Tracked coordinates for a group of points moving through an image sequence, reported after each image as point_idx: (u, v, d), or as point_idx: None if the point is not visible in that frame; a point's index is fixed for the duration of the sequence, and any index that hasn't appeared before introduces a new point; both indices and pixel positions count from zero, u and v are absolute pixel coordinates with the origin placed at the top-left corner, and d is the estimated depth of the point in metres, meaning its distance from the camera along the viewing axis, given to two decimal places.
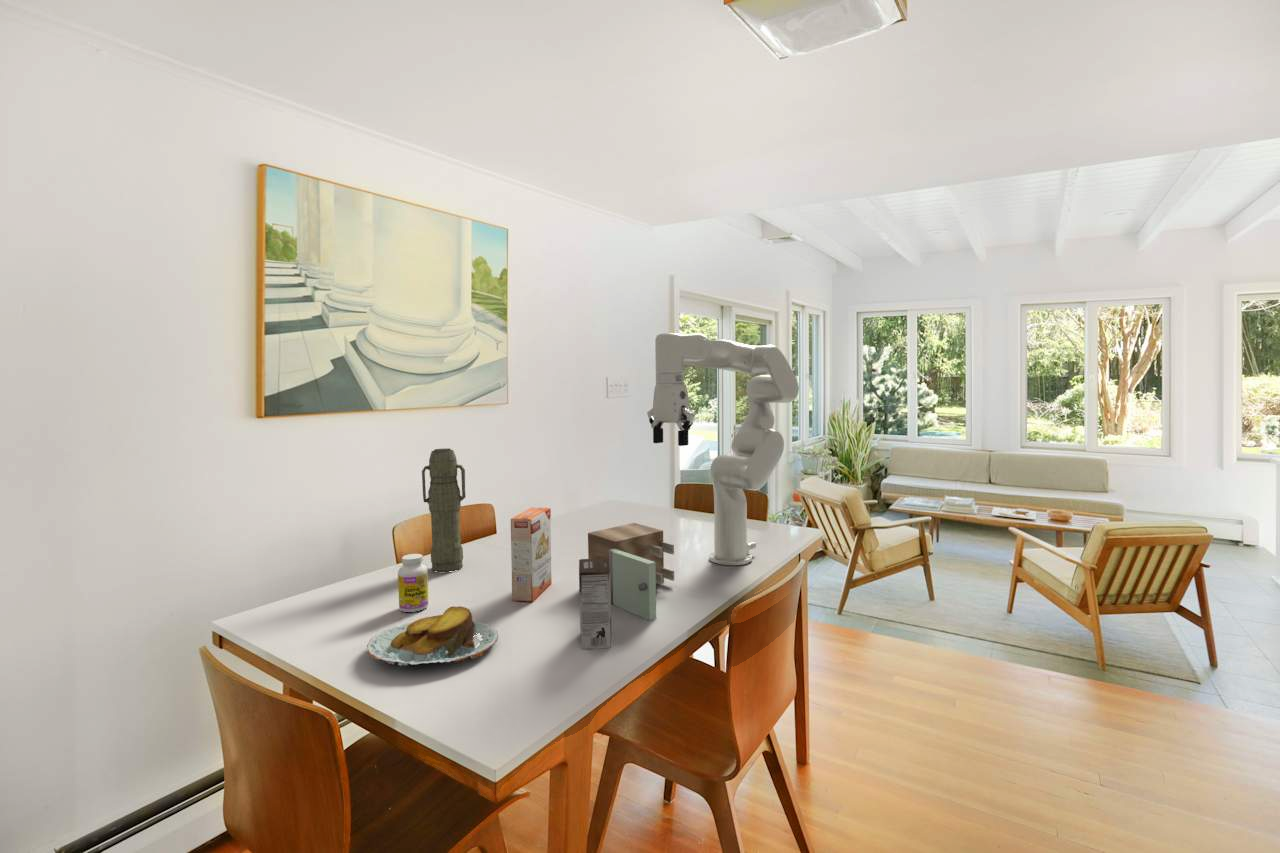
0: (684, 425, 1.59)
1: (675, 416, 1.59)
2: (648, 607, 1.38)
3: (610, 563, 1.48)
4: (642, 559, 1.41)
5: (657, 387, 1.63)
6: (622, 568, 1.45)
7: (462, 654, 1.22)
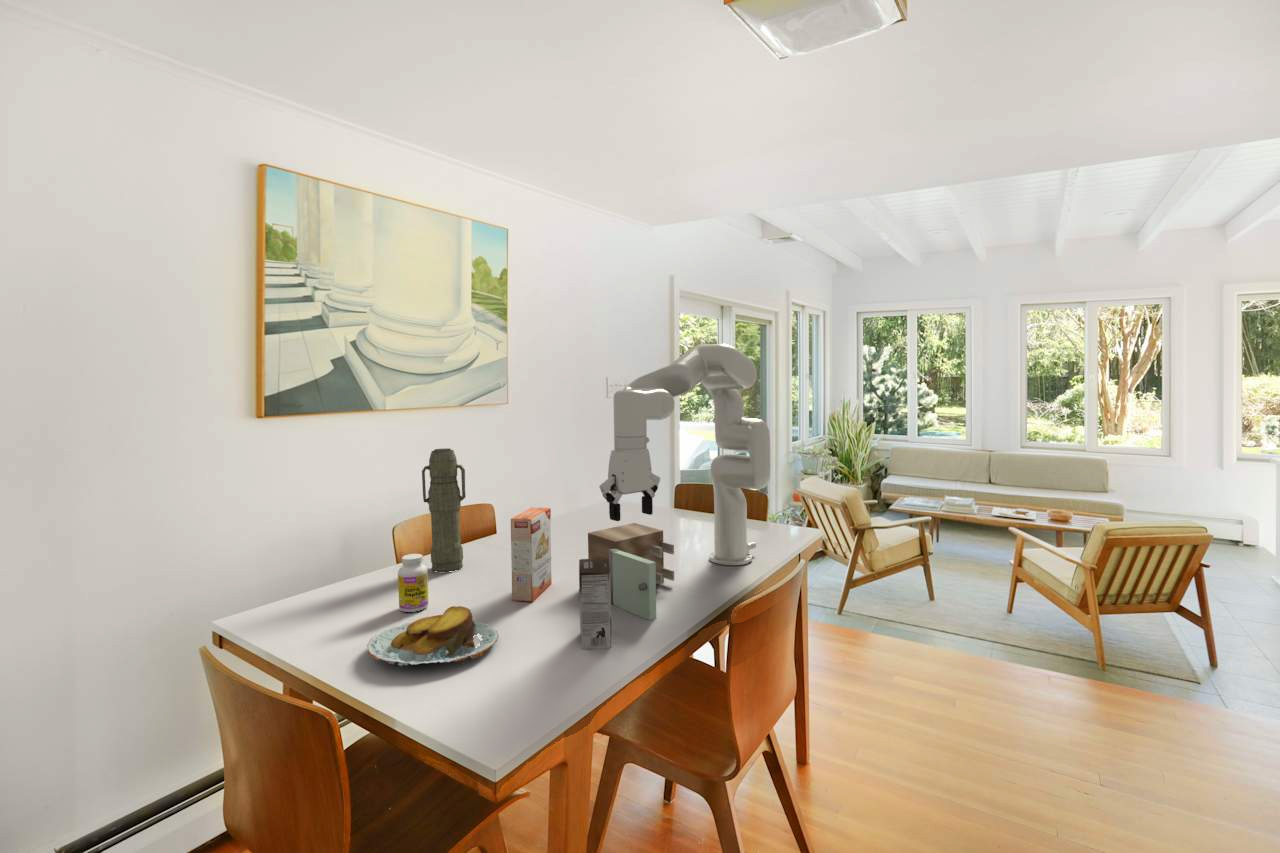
0: (653, 491, 1.45)
1: (650, 483, 1.43)
2: (648, 607, 1.38)
3: (610, 563, 1.48)
4: (642, 559, 1.41)
5: (629, 453, 1.38)
6: (622, 568, 1.45)
7: (462, 654, 1.22)
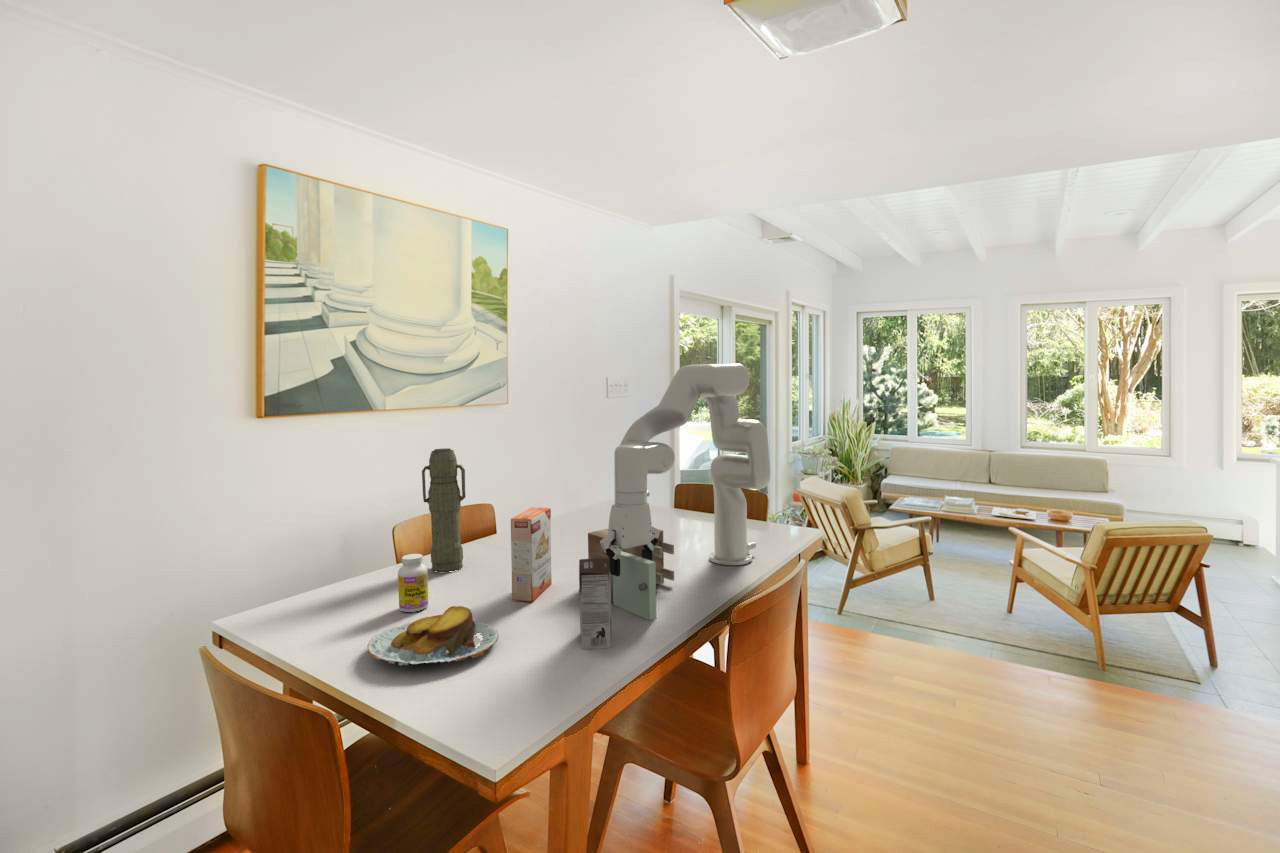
0: (653, 544, 1.46)
1: (650, 537, 1.44)
2: (648, 607, 1.38)
3: None
4: (642, 559, 1.41)
5: (629, 509, 1.39)
6: (622, 568, 1.45)
7: (462, 654, 1.22)
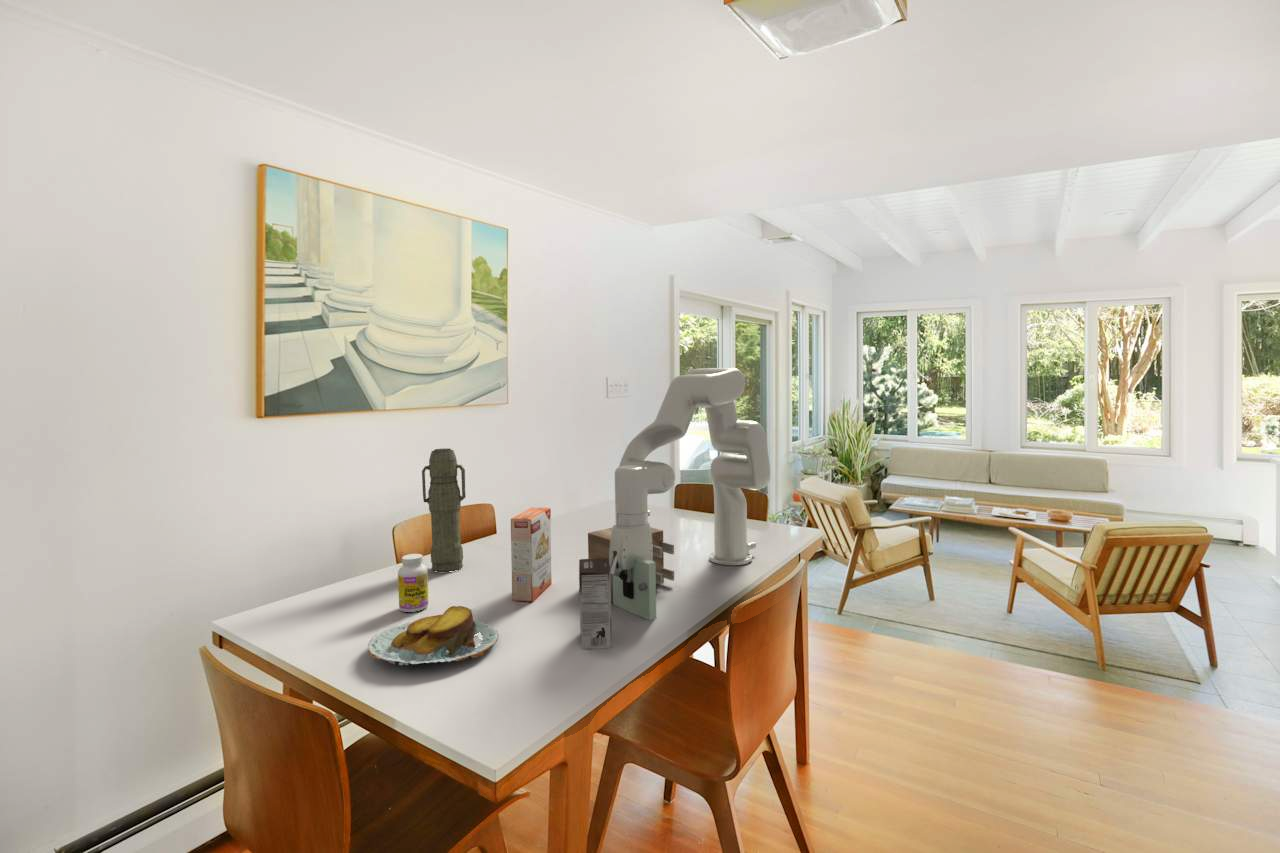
0: None
1: (651, 556, 1.44)
2: (648, 607, 1.38)
3: None
4: (642, 559, 1.41)
5: (630, 530, 1.39)
6: None
7: (463, 654, 1.22)
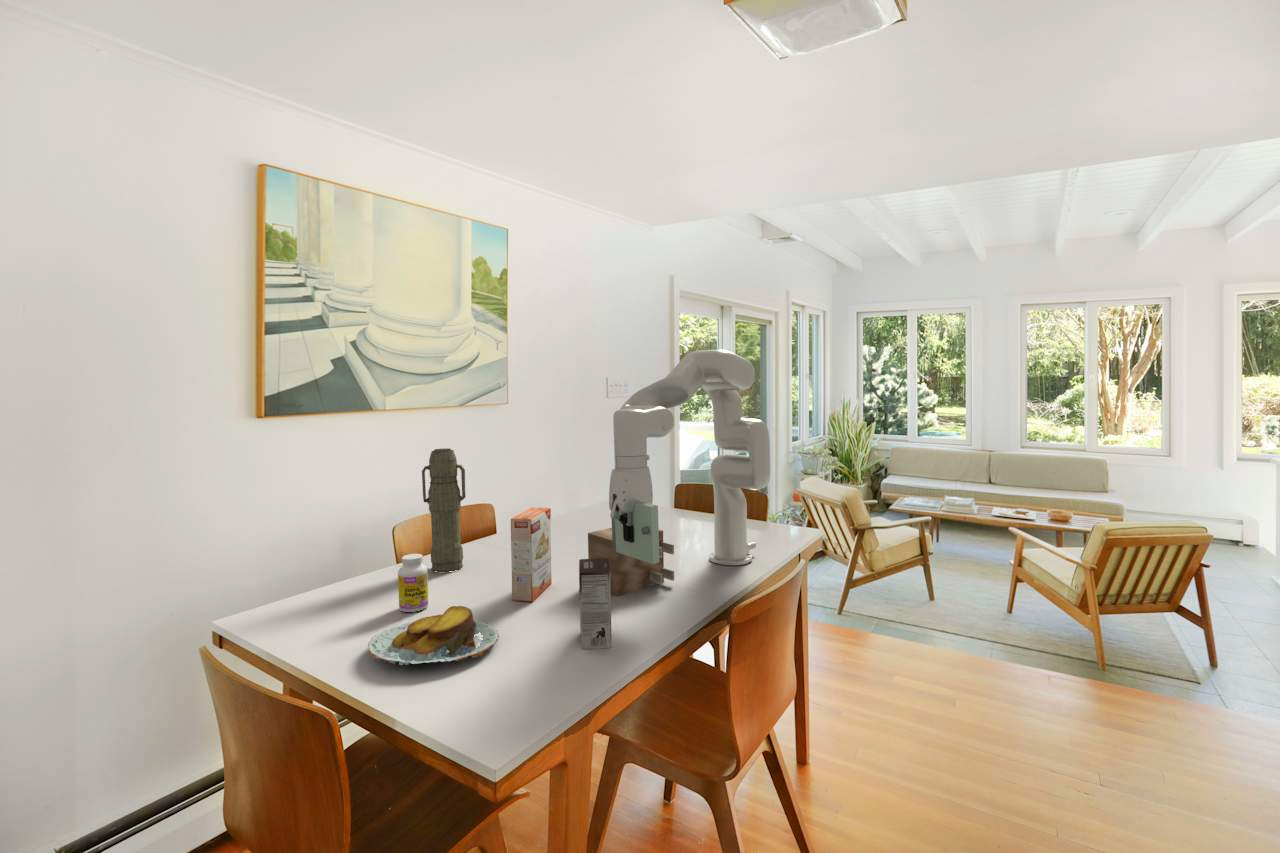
0: None
1: (651, 500, 1.43)
2: (651, 551, 1.37)
3: None
4: (644, 503, 1.39)
5: (629, 472, 1.38)
6: None
7: (463, 653, 1.22)
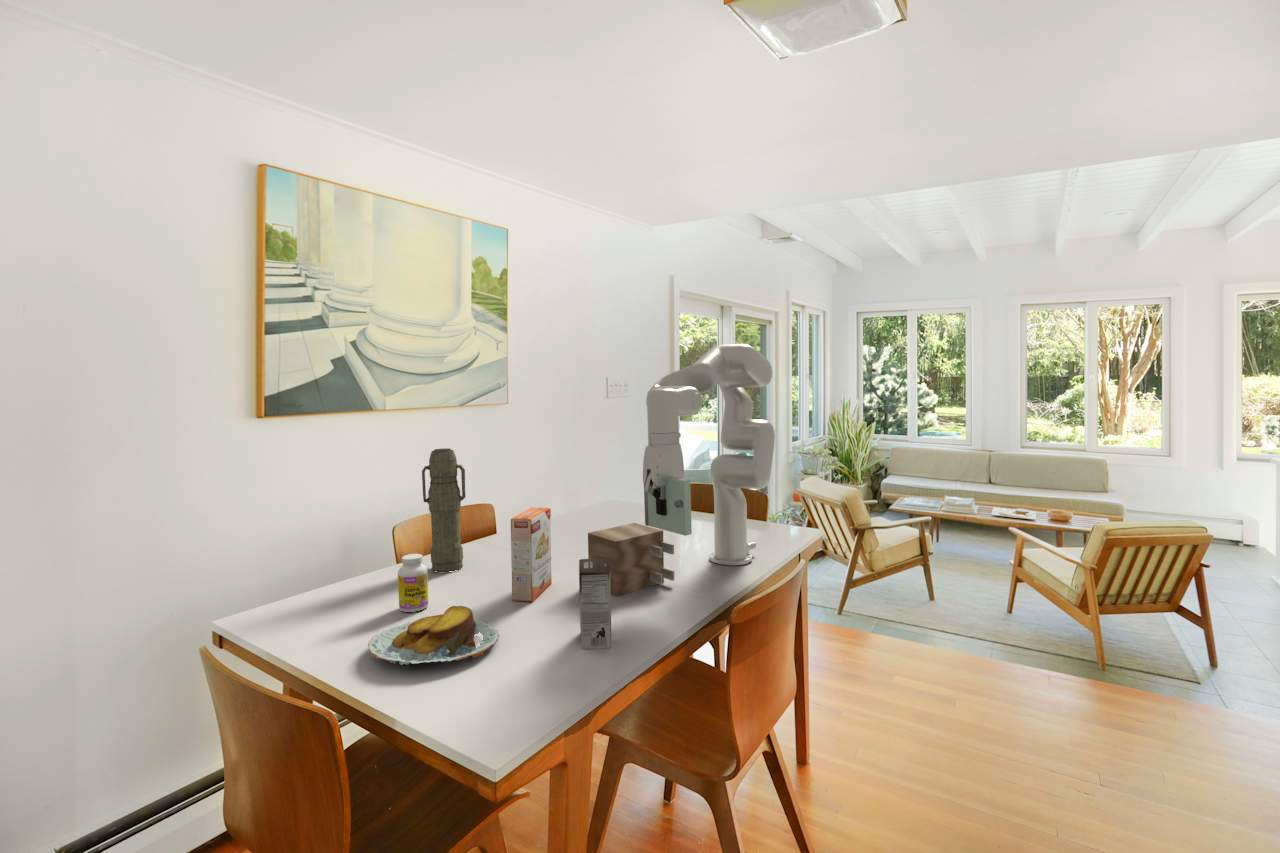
0: None
1: (682, 476, 1.51)
2: (684, 523, 1.44)
3: None
4: (677, 478, 1.46)
5: (663, 448, 1.45)
6: None
7: (463, 653, 1.22)
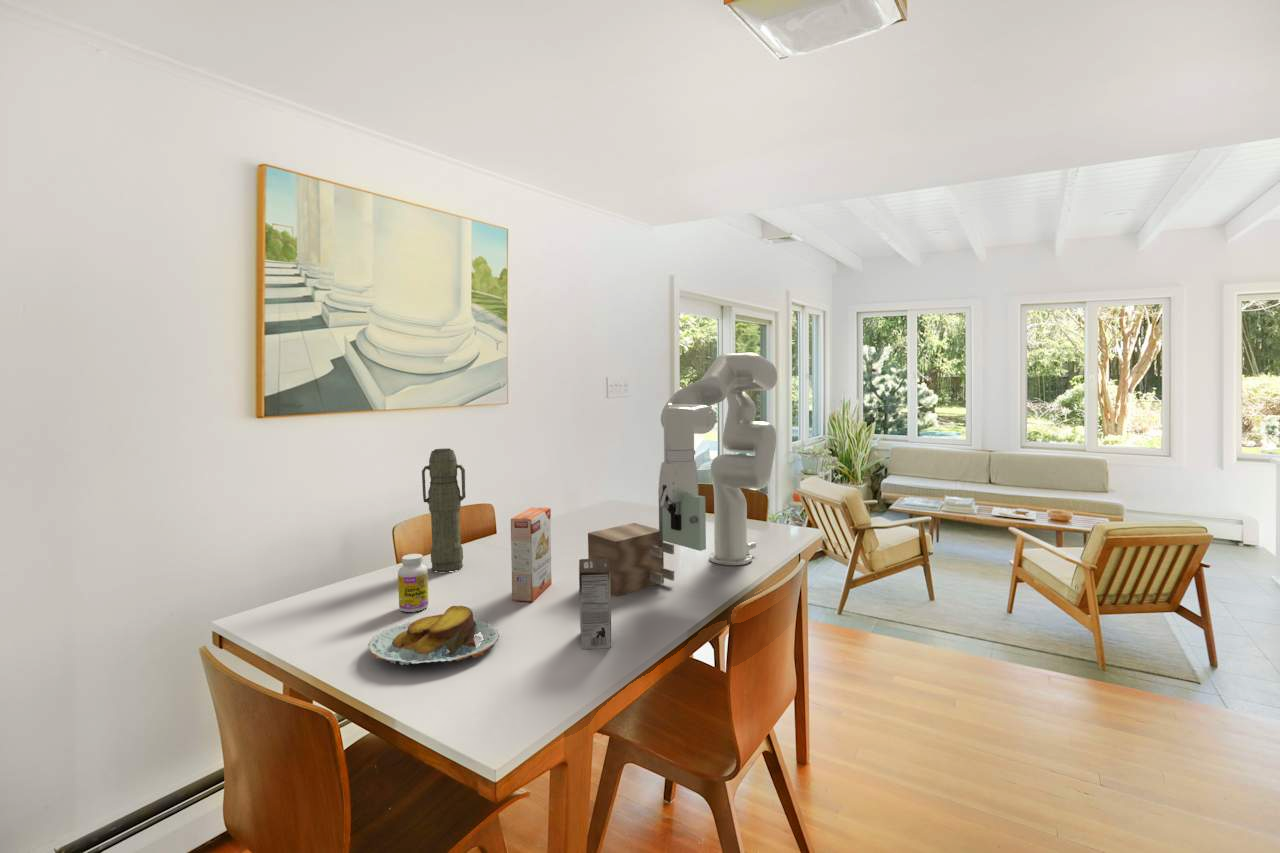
0: None
1: (696, 492, 1.55)
2: (699, 538, 1.48)
3: (660, 502, 1.58)
4: (692, 495, 1.50)
5: (678, 465, 1.50)
6: None
7: (463, 653, 1.22)
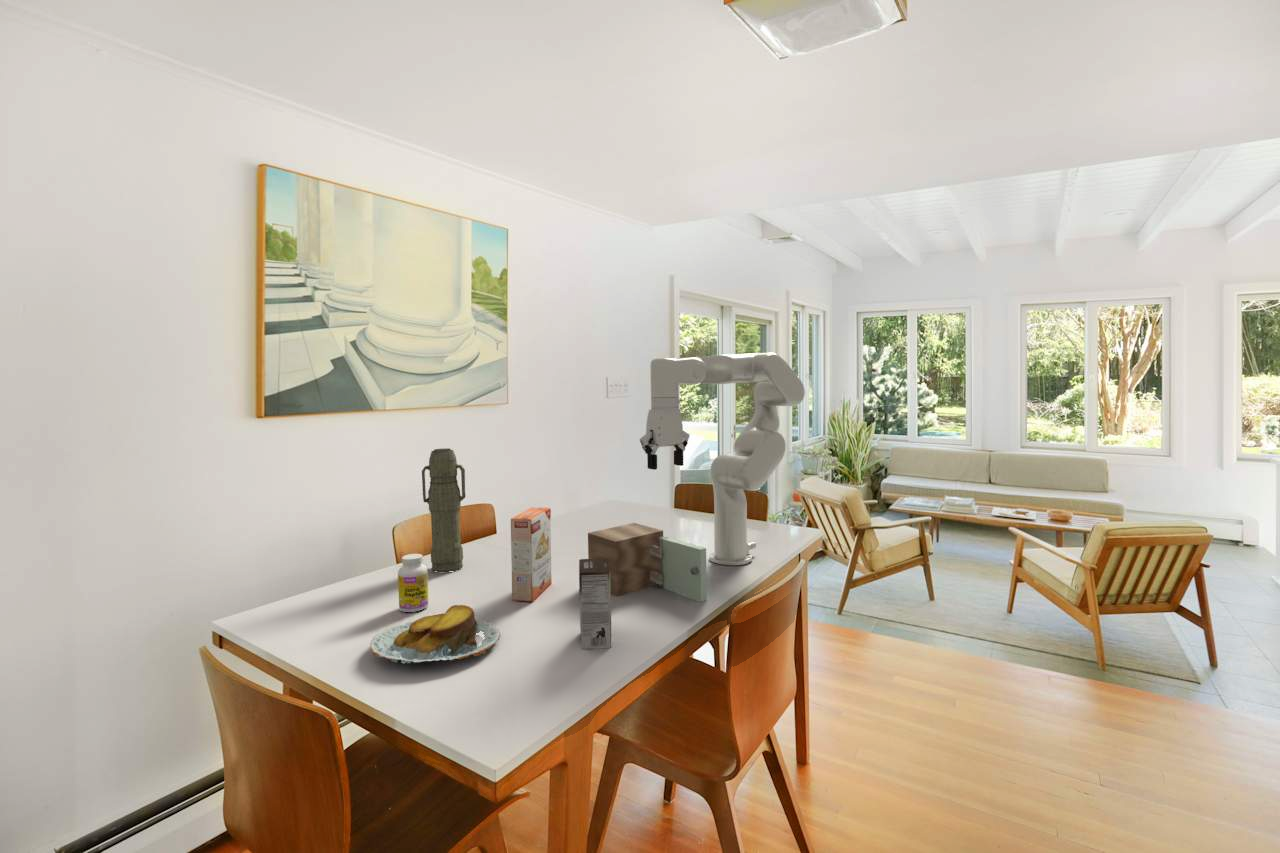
0: (683, 445, 1.69)
1: (681, 438, 1.67)
2: (699, 590, 1.49)
3: None
4: (693, 545, 1.51)
5: (664, 411, 1.62)
6: (673, 555, 1.55)
7: (465, 652, 1.22)
